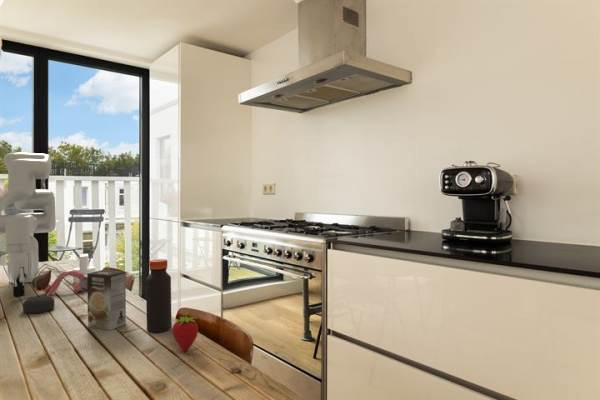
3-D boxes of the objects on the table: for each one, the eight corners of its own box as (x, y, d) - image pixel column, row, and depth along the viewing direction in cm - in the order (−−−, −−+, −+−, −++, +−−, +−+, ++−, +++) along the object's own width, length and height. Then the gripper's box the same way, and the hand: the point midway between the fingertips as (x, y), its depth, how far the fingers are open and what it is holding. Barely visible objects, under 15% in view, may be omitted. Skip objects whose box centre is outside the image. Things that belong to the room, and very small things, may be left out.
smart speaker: (57, 310, 131) (57, 298, 131) (26, 316, 124) (26, 304, 124) (50, 305, 137) (50, 294, 137) (20, 311, 130) (20, 299, 130)
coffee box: (86, 327, 113) (85, 273, 113) (103, 320, 119) (103, 269, 119) (110, 330, 110) (109, 275, 110) (127, 323, 116) (126, 270, 116)
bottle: (148, 335, 106) (147, 263, 106) (145, 327, 112) (144, 259, 112) (173, 330, 109) (172, 261, 109) (169, 323, 115) (168, 257, 115)
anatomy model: (93, 282, 157) (60, 254, 150) (61, 312, 150) (25, 285, 143) (88, 277, 166) (58, 251, 159) (58, 305, 159) (24, 279, 152)
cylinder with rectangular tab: (74, 280, 178) (73, 254, 178) (96, 278, 182) (95, 253, 182) (72, 284, 170) (71, 257, 170) (94, 281, 174) (94, 255, 174)
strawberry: (190, 343, 99) (189, 305, 99) (203, 352, 94) (203, 312, 93) (168, 349, 95) (167, 310, 95) (180, 359, 90) (179, 317, 90)
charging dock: (79, 286, 166) (79, 273, 166) (84, 285, 167) (84, 273, 167) (91, 291, 155) (91, 278, 155) (96, 291, 157) (96, 277, 157)
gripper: (1, 247, 147) (2, 295, 147) (10, 251, 137) (11, 302, 137) (25, 245, 153) (25, 291, 153) (35, 248, 143) (35, 297, 143)
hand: (19, 296), depth 145 cm, fingers closed
